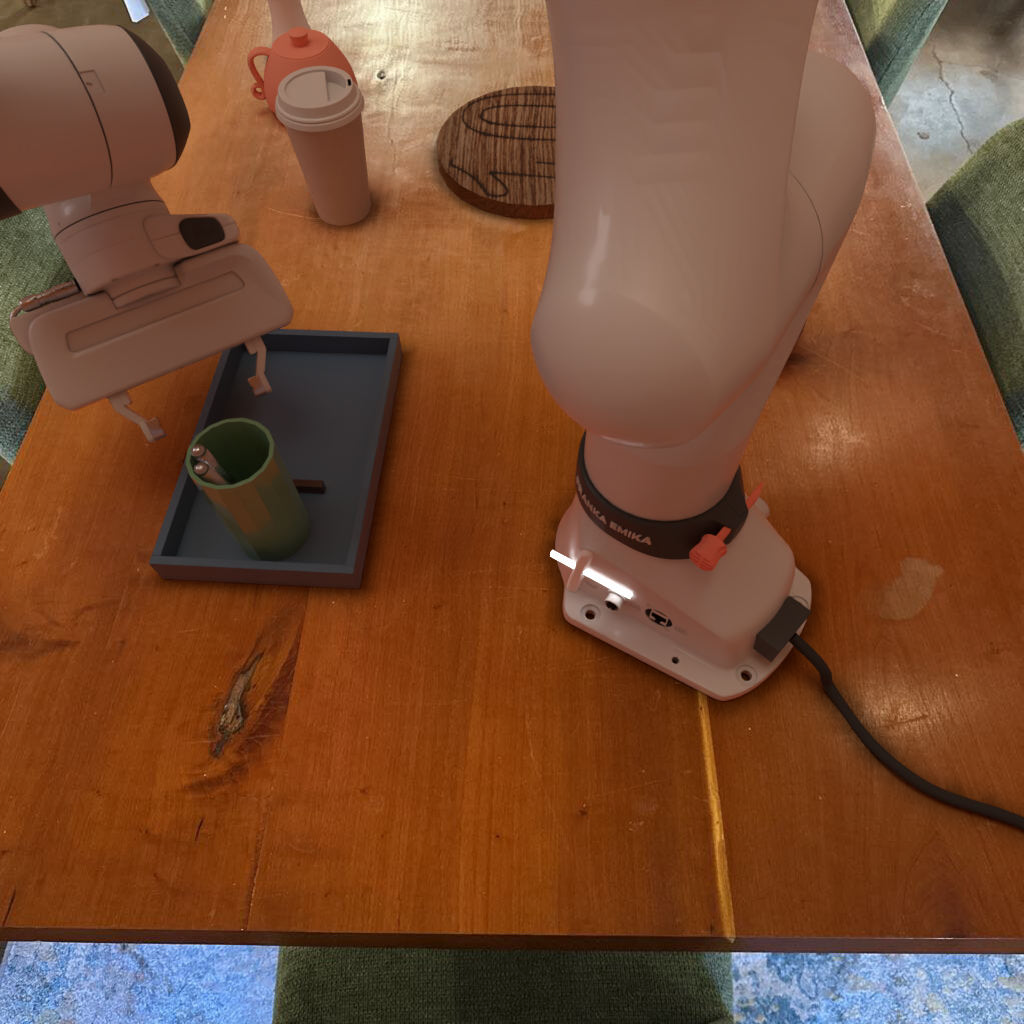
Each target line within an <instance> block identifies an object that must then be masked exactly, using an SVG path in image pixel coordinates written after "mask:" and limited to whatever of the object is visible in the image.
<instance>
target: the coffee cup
mask: <svg viewBox="0 0 1024 1024" xmlns="http://www.w3.org/2000/svg"><path fill="white" fill-rule="evenodd" d="M364 108H365V98H364V95H363V93H362V90H361V89H360V88H359V85H358V86H357V85H356V84H355V83H354V82H353V80H352V78H351V77H350V75H349V74H348V73H346V72H345V71H343V70H341V69H338V68H335V67H330V66H312V67H307V68H303V69H300V70H297V71H295V72H293V73H291V74H289V75H288V76H286V77H285V78H284V79H283V80H282V81H281V83H280V84H279V87H278V94H277V97H276V102H275V113H274V114H275V116H276V118H277V120H278V121H279V122H280V123H281V124H283V125H284V128H285V130H286V133H287V136H288V138H289V141H290V143H291V145H292V149H293V152H294V155H295V157H296V159H297V162H298V164H299V167H300V170H301V172H302V175H303V178H304V181H305V183H306V186H307V188H308V191H309V194H310V196H311V199H312V202H313V205H314V207H315V210H316V213H317V215H318V217H319V218H320V220H321V221H323V222H324V223H326V224H329V225H332V226H335V227H337V226H338V227H343V226H344V227H345V226H350V225H353V224H356V223H359V222H362V221H363V220H364V219H365V218H366V217H367V216H368V215H369V213H370V212H371V209H372V205H371V204H372V203H371V194H370V184H369V183H370V182H369V176H368V174H369V173H368V166H367V164H368V163H367V156H366V155H367V154H366V146H365V136H364V126H363V115H362V112H363V110H364Z"/></svg>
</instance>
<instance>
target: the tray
mask: <svg viewBox="0 0 1024 1024" xmlns="http://www.w3.org/2000/svg"><path fill="white" fill-rule="evenodd" d="M260 337H261V339H262V341H263V343H264V345H265V347H266V360H265V372H263V373H264V375H265V377H266V379H267V381H268V383H269V385H270V387H271V389H272V392H270V393H268V394H265V395H263V396H260V397H258V398H256V396H255V394H254V392H253V387H251V386H250V384H249V382H248V380H247V379H249V378H251V377H253V376H255V372H256V357H257V353H255V354H252V355H250V354H249V352H248V350H247V348H246V346H245V344H244V343H243V344H241V345H238V346H236V347H233V348H231V349H228V350H226V351H223V352H221V353H220V357H219V359H218V363H217V365H216V368H215V372H214V374H213V376H212V380H211V383H210V386H209V389H208V392H207V394H206V396H205V397H206V398H205V400H204V403H203V405H202V409H201V412H200V414H199V418H198V421H197V423H196V426H195V428H194V432H193V435H192V438H191V441H190V443H189V446H190V445H191V443H192V442H193V440H194V439H195V437H196V436H197V435H198V434H199V433H201V432H202V431H203V430H204V429H206V428H207V427H208V426H210V425H212V424H215V423H217V422H220V421H223V420H225V419H234V418H246V419H249V420H253V421H257V422H259V423H260V424H262V425H263V426H264V427H265V428H267V429H268V430H269V431H270V433H271V436H272V438H273V440H274V442H275V444H276V446H277V448H278V450H279V452H280V455H281V457H282V459H283V461H284V463H285V465H286V467H287V469H288V471H289V474H290V476H291V478H292V479H303V480H323V481H324V484H325V486H326V489H325V493H324V494H316V493H299V495H300V497H301V499H302V501H303V503H304V505H305V507H306V510H307V512H308V514H309V517H310V521H311V528H310V533H309V536H308V538H307V540H306V542H305V543H304V544H303V546H302V547H301V548H300V549H299V550H298V551H297V552H295V553H294V554H292V555H291V556H289V557H287V558H285V559H282V560H279V561H274V562H273V561H256V560H253V559H251V558H249V557H248V556H246V555H245V554H244V553H243V552H242V551H241V549H239V548H238V546H237V545H236V543H235V542H234V540H233V539H232V537H231V536H230V534H229V533H228V531H227V530H226V528H225V527H224V525H223V524H222V523H221V521H220V520H219V518H218V517H217V515H216V514H215V512H214V511H213V509H212V508H211V506H210V505H209V503H208V502H207V500H206V499H205V497H204V496H203V494H202V493H201V491H200V490H199V488H198V487H197V486H196V484H195V483H194V481H193V480H192V478H191V477H190V475H189V472H188V469H187V466H186V464H185V462H186V456H187V454H186V455H185V457H184V461H183V463H182V466H181V469H180V471H179V472H180V473H179V475H178V477H177V481H176V484H175V487H174V489H173V493H172V495H171V498H170V501H169V504H168V507H167V509H166V513H165V516H164V517H163V521H162V524H161V527H160V530H159V533H158V536H157V539H156V542H155V545H154V547H153V550H152V553H151V556H150V559H149V562H148V565H149V566H151V568H152V569H153V570H154V571H155V572H156V573H157V574H158V575H159V576H160V578H161V579H163V580H176V581H177V580H178V581H195V582H196V581H198V582H214V583H215V582H218V583H237V584H238V583H239V584H254V585H255V584H257V585H273V586H275V585H276V586H295V587H315V588H332V589H333V588H334V589H335V588H337V589H353V590H354V589H355V590H356V589H357V590H359V589H360V588H361V584H362V577H363V573H364V567H365V562H366V556H367V552H368V551H367V550H368V546H369V545H368V544H369V540H370V534H371V530H372V529H371V528H372V524H373V518H374V513H375V507H376V500H377V495H378V492H379V491H378V490H379V485H380V479H381V473H382V468H383V463H384V459H385V452H386V447H387V442H388V435H389V430H390V424H391V420H392V414H393V408H394V403H395V398H396V392H397V386H398V381H399V375H400V369H401V365H402V358H403V353H404V352H403V348H402V343H401V342H402V341H401V338H400V333H399V332H382V331H357V330H356V331H353V330H328V329H296V328H280V329H278V330H275V331H273V332H270V333H268V334H265V335H263V336H260Z"/></svg>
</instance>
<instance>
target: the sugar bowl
mask: <svg viewBox="0 0 1024 1024" xmlns="http://www.w3.org/2000/svg"><path fill="white" fill-rule="evenodd" d="M271 45H272V47H271V46H270V47H271V49H270V47H267V46H262V45H261V46H260V45H259V46H256V47H254V48H252V49H251V50H250V51H249V52H248V55H247V59H246V60H247V61H246V62H247V67H248V70H249V72H250V73H251V75H252V77H253V79H254V81H255V82H254V83H253V84H252V85H251V88H250V90H251V91H250V92H251V95H252V96H253V98H254V99H256V100H258V101H266V104H267V106H268V108H270V110H271V111H272V112H273V113H274V114H276V113H275V102H276V97H277V94H278V87H279V84H280V83H281V81H282V80H283V79H284V78H285V77H286V76H288V75H289V74H291V73H293V72H295V71H297V70H300V69H303V68H307V67H312V66H330V67H335V68H338V69H341V70H343V71H345V72H346V73H348V74H349V75H350V77H351V78H352V80H353V82H354V83H355V84H356V85H357V86H358V87H359V85H358V80H357V76H356V74H355V72H354V69H353V67H352V66H351V63H350V61H349V60H348V59H347V57H346V56H345V54H344V52H342V50H341V49H340V48H339V47H338V46H337V44H335V42H334V41H333V40H332V39H331V38H330V37H329V36H328V35H326V34H325V33H324V32H322V31H319V30H316V29H312V28H311V29H306V28H304V27H294V28H292V29H290V30H289V31H288V32H287V33H284V34H282V35H281V36H279V37H278V38H277V39H276V40H275V41H274V42H273V44H272V43H271ZM258 56H264V57H265V56H266V57H267V59H266V62H265V67H264V71H263V72H264V74H263V78H262V76H261V74H260V73H259V71H258V69H257V67H256V64H255V61H254V59H255V58H256V57H258ZM257 89H260V91H258V90H257Z"/></svg>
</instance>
